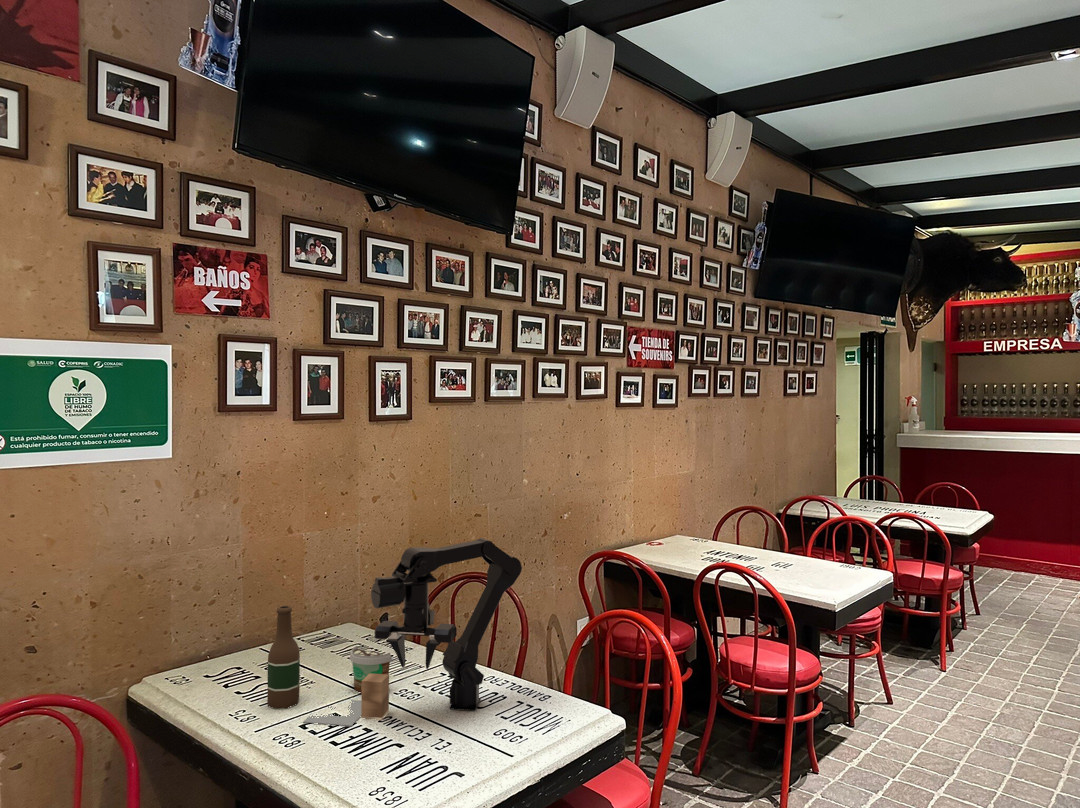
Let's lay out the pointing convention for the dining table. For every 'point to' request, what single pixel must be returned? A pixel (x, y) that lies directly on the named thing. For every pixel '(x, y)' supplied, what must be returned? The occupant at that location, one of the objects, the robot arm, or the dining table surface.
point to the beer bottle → (283, 664)
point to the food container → (368, 665)
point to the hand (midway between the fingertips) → (415, 667)
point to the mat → (339, 720)
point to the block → (375, 696)
